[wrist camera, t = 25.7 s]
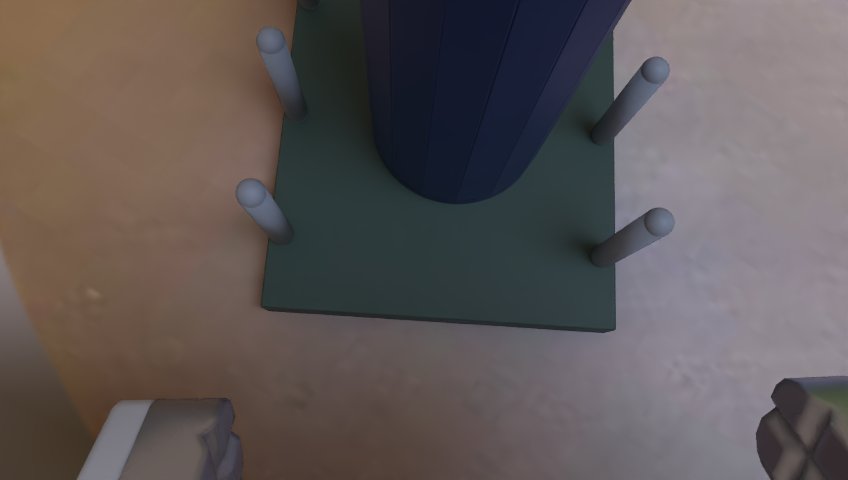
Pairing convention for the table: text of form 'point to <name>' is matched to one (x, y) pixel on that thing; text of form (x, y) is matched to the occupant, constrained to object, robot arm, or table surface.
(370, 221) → the rack
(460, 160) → the bottle
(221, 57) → the table surface
